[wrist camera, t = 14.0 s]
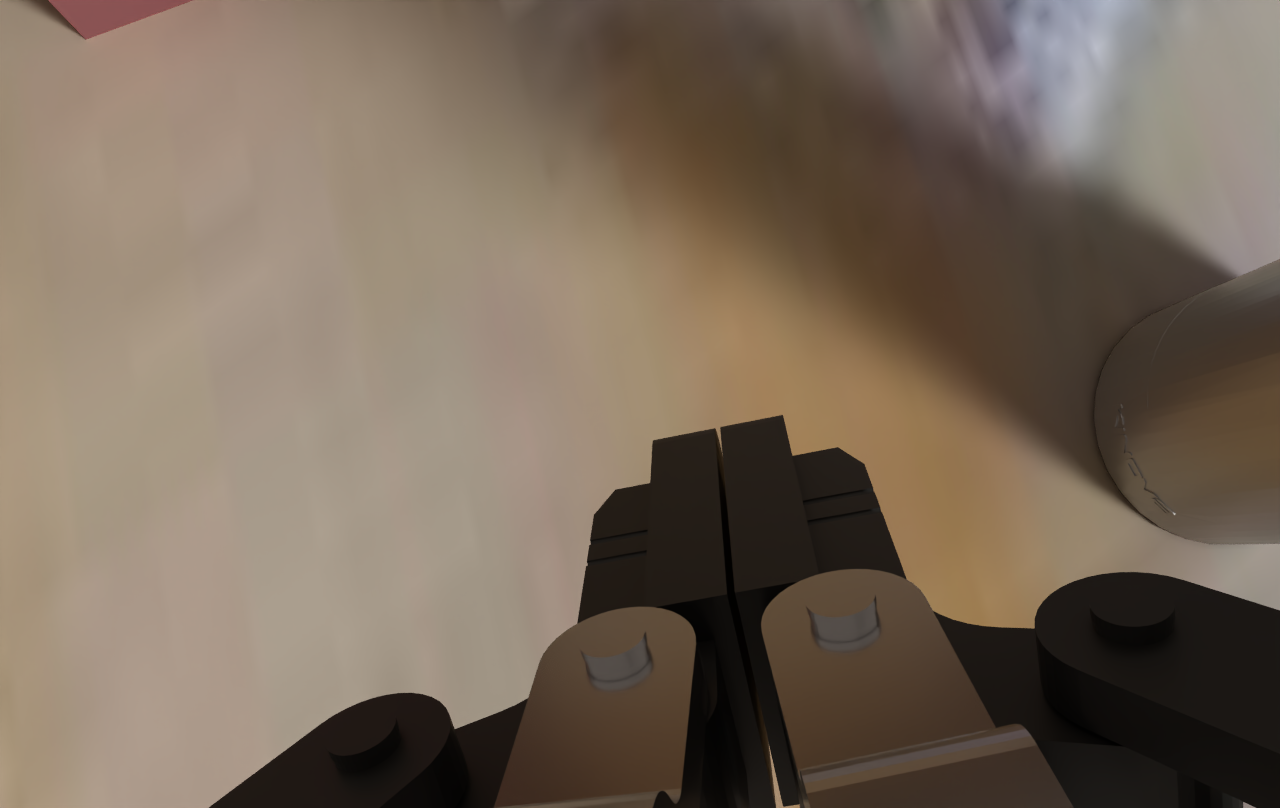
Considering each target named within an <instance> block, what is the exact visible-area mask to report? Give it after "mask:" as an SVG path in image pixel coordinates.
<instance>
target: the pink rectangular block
mask: <svg viewBox="0 0 1280 808" xmlns="http://www.w3.org/2000/svg"><path fill="white" fill-rule="evenodd" d="M48 1H49V2H50V3H51V4H52V5H53V6H54V7H55V8H56V9H57V10H58V11H59V12H60V13H61V14H62V15H63V16H64V17H65V18H66V19H67V20H68V22H69V23H70V24H71V25H72V26H73V27H74V28H75V29H76V30H77V31H78V32H79V33H80V34H81V35H82V36H83V37H84V38H85V39H89V38H91V37H94V36H97V35H100V34H102V33H105V32H108V31H110V30H113V29H116V28H119V27H121V26H124V25H127V24H130V23H132V22H135V21H138V20H141V19H143V18H146V17H149V16H151V15H154V14H157V13H160V12H162V11H165V10H168V9H171V8H173V7H176V6H179V5H181V4H184V3H187V2H190V1H192V0H48Z"/></svg>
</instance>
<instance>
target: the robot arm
mask: <svg viewBox="0 0 1280 808" xmlns="http://www.w3.org/2000/svg"><path fill="white" fill-rule="evenodd" d="M1094 422H1095V429H1096V435H1097V442H1098V446H1099V449H1100V452H1101V454H1102V457H1103V460H1104V463H1105V465H1106V468H1107V470H1108V472H1109V474H1110V475H1111V477H1112V478H1113V480H1114V482H1115V483H1116V485H1117V487H1118V488H1119V490H1120V491H1121V493H1122V494H1123V495H1124V496H1125V497H1126V498H1127V499H1128V500H1129V502H1130V503H1131V504H1132V505H1133V506H1134V507H1135V508H1136V509H1137V510H1138V511H1139V512H1140V513H1141V514H1143V515H1144V516H1145V517H1147V518H1148V519H1149V520H1151V521H1152V522H1154V523H1155V524H1156V525H1158V526H1159V527H1161V528H1163V529H1165V530H1167V531H1169V532H1171V533H1174V534H1176V535H1178V536H1180V537H1182V538H1185V539H1189V540H1193V541H1198V542H1202V543H1207V544H1280V259H1279V260H1277V261H1274V262H1272V263H1270V264H1267V265H1265V266H1263V267H1260V268H1258V269H1256V270H1253V271H1251V272H1249V273H1246V274H1244V275H1242V276H1239V277H1237V278H1235V279H1232V280H1230V281H1228V282H1225V283H1223V284H1220V285H1217V286H1215V287H1213V288H1211V289H1208V290H1206V291H1204V292H1202V293H1199V294H1197V295H1195V296H1192V297H1190V298H1188V299H1186V300H1183V301H1181V302H1179V303H1177V304H1174V305H1172V306H1170V307H1168V308H1165V309H1163V310H1161V311H1158V312H1156V313H1154V314H1152V315H1149V316H1148V317H1146V318H1145V319H1144V320H1142V321H1141V322H1140V323H1138V324H1137V325H1135V326H1134V327H1133V328H1131V329H1130V330H1129V331H1128V332H1127V333H1126V334H1125V336H1124V337H1123V338H1122V339H1121V340H1120V341H1119V342H1118V344H1117V345H1116V346H1115V347H1114V348H1113V350H1112V352H1111V354H1110V356H1109V358H1108V360H1107V361H1106V363H1105V365H1104V367H1103V369H1102V372H1101V376H1100V379H1099V383H1098V386H1097V390H1096V394H1095V411H1094ZM720 429H721V441H722V451H721V447H720V443H719V439H718V435H717V432H716V429H715V428H714V429H709V430H704V431H699V432H694V433H689V434H684V435H678V436H673V437H668V438H663V439H658V440H653V445H652V463H651V481H650V483H649V484H643V485H638V486H633V487H627V488H622V489H617V490H615V491H614V492H613V493H612V494H611V496H610V497H609V498H608V499H607V500H606V501H605V503H604V504H603V505H602V506H601V507H600V509H599V510H598V511H597V512H596V513H595V514H594V519H593V525H592V532H591V538H590V541H591V545H589V551H588V558H587V563H588V566H586V571H585V577H584V584H583V590H582V597H581V603H580V610H579V616H578V623H577V624H576V625H574V626H573V627H571V628H570V629H568V630H566V631H565V632H564V633H563V634H561V635H560V636H559V637H558V638H556V639H555V640H554V641H553V643H552V644H551V645H550V646H549V647H548V648H547V650H546V651H545V653H544V654H543V656H542V658H541V660H540V663H539V666H538V669H537V672H536V675H535V678H534V681H533V685H532V688H531V691H530V694H529V697H528V699H526V700H524V701H522V702H520V703H518V704H517V705H515V706H512V707H510V708H508V709H506V710H503V711H501V712H498V713H496V714H493V715H491V716H488V717H486V718H483V719H480V720H478V721H475V722H473V723H470V724H467V725H465V726H462V727H460V728H457V729H454V726H453V724H452V721H451V718H450V715H449V713H448V711H447V709H446V707H445V706H444V705H443V704H442V703H441V702H440V701H438V700H436V699H434V698H432V697H430V696H426V695H423V694H416V693H397V694H390V695H384V696H380V697H376V698H372V699H369V700H366V701H363V702H360V703H358V704H356V705H353V706H351V707H349V708H347V709H345V710H343V711H341V712H339V713H338V714H336V715H334V716H332V717H331V718H329V719H328V720H326V721H325V722H323V723H322V724H320V725H319V726H318V727H316V728H315V729H314V730H312V731H311V732H310V733H308V734H307V735H306V736H304V737H303V738H302V739H300V740H299V741H298V742H296V743H295V744H294V745H292V746H291V747H289V748H288V749H287V750H285V751H284V752H283V753H281V754H280V755H279V756H277V757H276V758H275V759H273V760H272V761H271V762H269V763H268V764H267V765H265V766H264V767H263V768H261V769H260V770H259V771H257V772H256V773H255V774H253V775H252V776H251V777H249V778H248V779H246V780H245V781H244V782H242V783H241V784H240V785H238V786H237V787H236V788H234V789H233V790H232V791H230V792H229V793H228V794H226V795H225V796H224V797H222V798H221V799H220V800H218V801H217V802H216V803H214V804H213V805H212V806H210V807H209V808H776V803H775V795H774V786H773V777H772V768H771V760H770V751H769V746H770V750H771V755H772V759H773V764H774V768H775V772H776V777H777V781H778V786H779V790H780V795H781V799H782V803H783V807H784V806H791V805H797V804H800V808H1243V802H1245V803H1247V804H1249V805H1252V806H1254V807H1256V808H1280V611H1279V610H1276V609H1273V608H1270V607H1267V606H1264V605H1260V604H1257V603H1254V602H1251V601H1248V600H1245V599H1241V598H1238V597H1235V596H1232V595H1229V594H1226V593H1222V592H1219V591H1216V590H1213V589H1210V588H1207V587H1203V586H1200V585H1197V584H1194V583H1191V582H1188V581H1185V580H1181V579H1177V578H1173V577H1169V576H1164V575H1158V574H1152V573H1139V572H1118V573H1108V574H1101V575H1096V576H1091V577H1086V578H1083V579H1080V580H1077V581H1074V582H1072V583H1069V584H1067V585H1065V586H1063V587H1061V588H1059V589H1058V590H1056V591H1055V592H1053V593H1052V594H1050V595H1049V596H1048V597H1047V598H1046V599H1045V600H1044V601H1043V602H1042V604H1041V605H1040V607H1039V608H1038V610H1037V613H1036V616H1035V629H1031V628H1001V627H987V626H979V625H973V624H967V623H963V622H960V621H956V620H952V619H950V618H947V617H945V616H942V615H940V614H938V613H936V612H934V611H933V610H932V608H931V606H930V605H929V603H928V601H927V599H926V597H925V596H924V594H923V593H922V592H921V590H920V589H919V588H918V587H917V586H915V585H914V584H913V583H912V582H910V581H908V580H907V579H906V576H905V573H904V571H903V568H902V565H901V563H900V560H899V557H898V554H897V552H896V549H895V546H894V544H893V541H892V538H891V535H890V533H889V530H888V527H887V525H886V522H885V519H884V516H883V514H882V512H881V509H880V506H879V503H878V500H877V497H876V495H875V492H874V491H873V487H872V484H871V481H870V478H869V476H868V473H867V470H866V468H865V465H864V464H863V463H862V462H860V461H859V460H857V459H855V458H854V457H852V456H851V455H849V454H848V453H846V452H844V451H843V450H841V449H840V448H838V447H837V448H832V449H827V450H821V451H816V452H811V453H806V454H800V455H795V456H792V453H791V448H790V444H789V440H788V435H787V431H786V426H785V422H784V418H783V415H780V416H775V417H770V418H765V419H760V420H755V421H749V422H744V423H739V424H734V425H729V426H724V427H721V428H720ZM722 453H723V456H722ZM768 741H769V742H768Z"/></svg>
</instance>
